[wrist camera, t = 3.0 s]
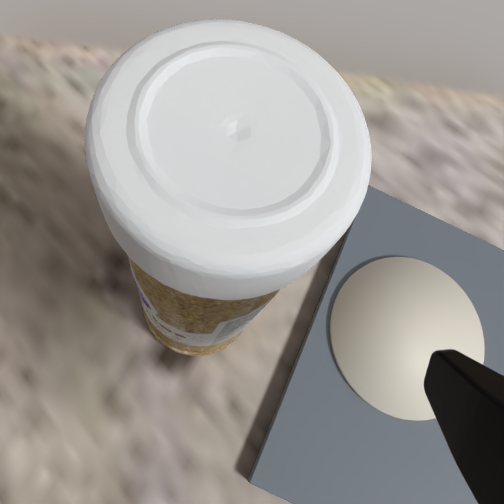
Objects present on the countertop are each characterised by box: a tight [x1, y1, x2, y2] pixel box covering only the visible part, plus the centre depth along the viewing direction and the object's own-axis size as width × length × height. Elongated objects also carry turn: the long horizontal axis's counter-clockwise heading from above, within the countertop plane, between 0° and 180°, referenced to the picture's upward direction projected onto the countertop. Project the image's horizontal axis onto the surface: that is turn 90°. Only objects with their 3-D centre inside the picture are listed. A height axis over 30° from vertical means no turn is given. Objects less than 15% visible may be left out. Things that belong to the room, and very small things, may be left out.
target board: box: [248, 185, 504, 504], centre depth 20 cm, size 14×12×1 cm
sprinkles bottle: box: [85, 19, 371, 356], centre depth 13 cm, size 5×5×14 cm
